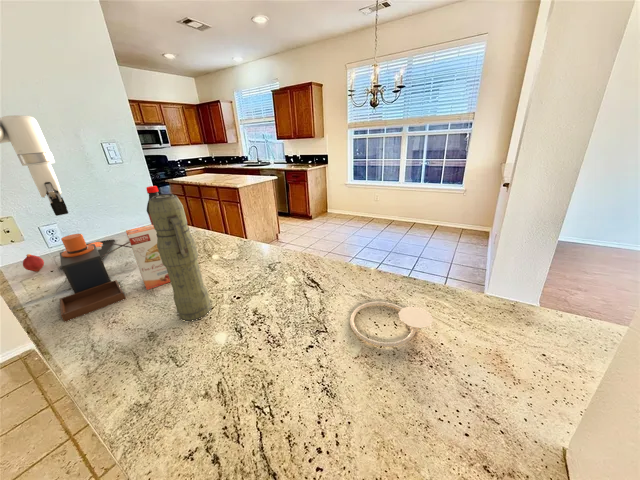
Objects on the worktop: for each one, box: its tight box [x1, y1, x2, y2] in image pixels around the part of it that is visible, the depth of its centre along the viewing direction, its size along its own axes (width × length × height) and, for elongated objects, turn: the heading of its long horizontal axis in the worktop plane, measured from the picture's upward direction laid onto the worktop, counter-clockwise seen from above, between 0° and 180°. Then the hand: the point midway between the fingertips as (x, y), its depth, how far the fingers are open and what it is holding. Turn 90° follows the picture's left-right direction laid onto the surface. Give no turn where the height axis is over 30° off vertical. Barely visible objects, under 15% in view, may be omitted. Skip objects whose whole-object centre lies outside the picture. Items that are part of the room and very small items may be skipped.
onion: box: [22, 253, 45, 273], centre depth 107 cm, size 6×6×8 cm
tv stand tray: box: [59, 279, 127, 323], centre depth 85 cm, size 15×12×2 cm
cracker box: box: [125, 224, 171, 291], centre depth 92 cm, size 14×6×21 cm, turn 129°
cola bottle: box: [145, 185, 160, 225], centre depth 114 cm, size 8×8×30 cm
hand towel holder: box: [349, 301, 434, 348], centre depth 68 cm, size 17×4×21 cm
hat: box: [61, 233, 94, 257], centre depth 93 cm, size 9×9×6 cm
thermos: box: [148, 193, 212, 322], centre depth 71 cm, size 9×12×35 cm
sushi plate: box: [59, 239, 132, 271], centre depth 122 cm, size 29×30×4 cm
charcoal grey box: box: [59, 244, 112, 294], centre depth 95 cm, size 10×16×12 cm, turn 44°
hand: (61, 211), depth 89 cm, fingers open, 9 cm apart
